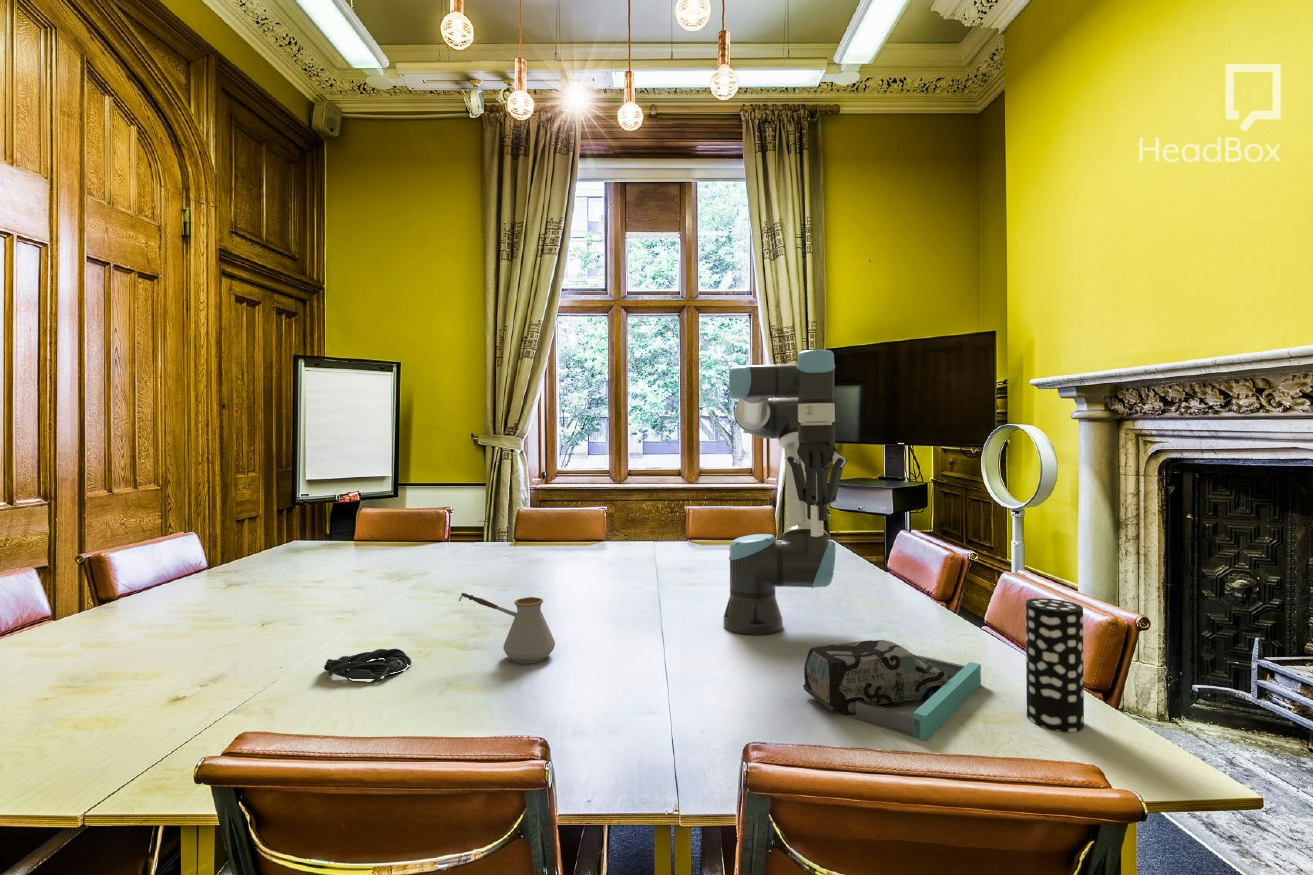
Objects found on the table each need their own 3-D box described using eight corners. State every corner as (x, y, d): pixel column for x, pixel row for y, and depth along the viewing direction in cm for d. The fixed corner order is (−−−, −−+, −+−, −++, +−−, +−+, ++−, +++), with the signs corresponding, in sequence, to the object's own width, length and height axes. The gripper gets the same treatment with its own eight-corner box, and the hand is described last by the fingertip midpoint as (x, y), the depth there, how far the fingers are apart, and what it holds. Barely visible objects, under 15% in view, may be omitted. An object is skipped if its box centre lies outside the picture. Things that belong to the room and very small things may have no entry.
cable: (308, 682, 130) (308, 661, 130) (352, 658, 144) (352, 639, 144) (384, 686, 127) (383, 665, 127) (421, 662, 141) (421, 642, 141)
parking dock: (855, 718, 110) (855, 695, 110) (918, 669, 132) (918, 650, 132) (926, 740, 102) (926, 716, 102) (980, 684, 124) (980, 664, 124)
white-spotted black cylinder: (1016, 711, 112) (1015, 599, 112) (1060, 709, 112) (1059, 597, 112) (1049, 733, 103) (1048, 612, 103) (1096, 730, 104) (1095, 610, 104)
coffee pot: (558, 648, 148) (557, 584, 148) (551, 666, 136) (550, 597, 136) (467, 650, 147) (466, 586, 147) (452, 668, 136) (451, 599, 136)
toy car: (951, 703, 116) (950, 649, 116) (829, 720, 109) (829, 663, 109) (913, 681, 126) (913, 631, 126) (801, 696, 120) (800, 643, 120)
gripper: (779, 424, 134) (780, 534, 135) (837, 424, 125) (837, 542, 126) (797, 423, 139) (798, 529, 140) (853, 423, 131) (854, 536, 131)
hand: (817, 535), depth 133 cm, fingers closed
